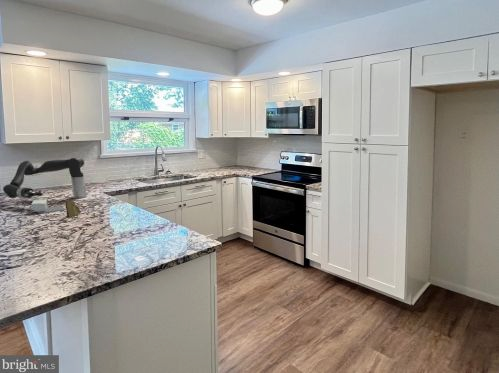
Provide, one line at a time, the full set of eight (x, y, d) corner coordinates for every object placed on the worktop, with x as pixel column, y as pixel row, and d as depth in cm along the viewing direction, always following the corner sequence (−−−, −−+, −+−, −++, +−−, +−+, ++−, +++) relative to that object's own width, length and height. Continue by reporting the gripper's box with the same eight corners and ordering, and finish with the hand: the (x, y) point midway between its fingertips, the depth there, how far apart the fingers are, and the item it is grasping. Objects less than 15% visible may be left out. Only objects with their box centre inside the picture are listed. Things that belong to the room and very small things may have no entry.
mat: (59, 206, 245) (59, 205, 245) (64, 209, 234) (64, 209, 234) (34, 210, 235) (34, 209, 235) (38, 214, 224) (38, 213, 224)
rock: (78, 208, 228) (62, 209, 221) (81, 199, 225) (65, 200, 217) (82, 220, 223) (66, 221, 216) (86, 211, 219) (70, 212, 212)
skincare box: (46, 199, 241) (46, 203, 228) (46, 207, 242) (46, 211, 229) (33, 199, 237) (31, 203, 224) (33, 207, 237) (31, 212, 225)
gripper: (34, 195, 252) (50, 197, 246) (16, 199, 240) (33, 201, 234) (33, 186, 251) (49, 187, 244) (15, 189, 239) (31, 190, 232)
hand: (41, 194), depth 239 cm, fingers closed
